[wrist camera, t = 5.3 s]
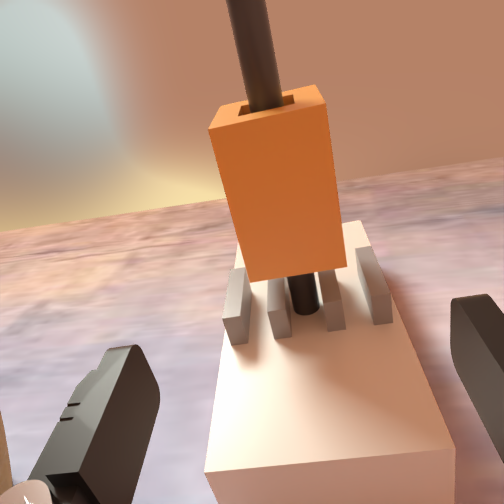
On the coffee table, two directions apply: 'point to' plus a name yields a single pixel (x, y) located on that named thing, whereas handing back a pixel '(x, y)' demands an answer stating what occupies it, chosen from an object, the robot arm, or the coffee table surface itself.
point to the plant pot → (4, 462)
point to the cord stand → (319, 368)
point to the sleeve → (281, 185)
